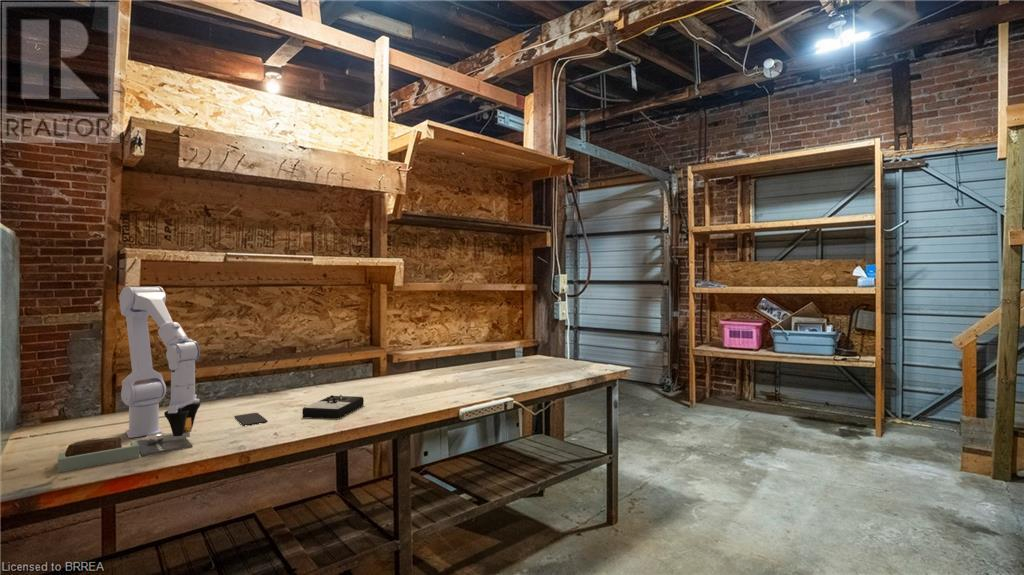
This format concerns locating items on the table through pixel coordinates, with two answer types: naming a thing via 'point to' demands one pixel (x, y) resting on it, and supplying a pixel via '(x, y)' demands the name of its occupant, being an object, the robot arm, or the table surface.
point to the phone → (250, 419)
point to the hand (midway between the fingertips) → (182, 432)
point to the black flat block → (333, 407)
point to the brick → (93, 446)
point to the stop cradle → (97, 457)
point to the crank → (170, 434)
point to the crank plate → (162, 446)
